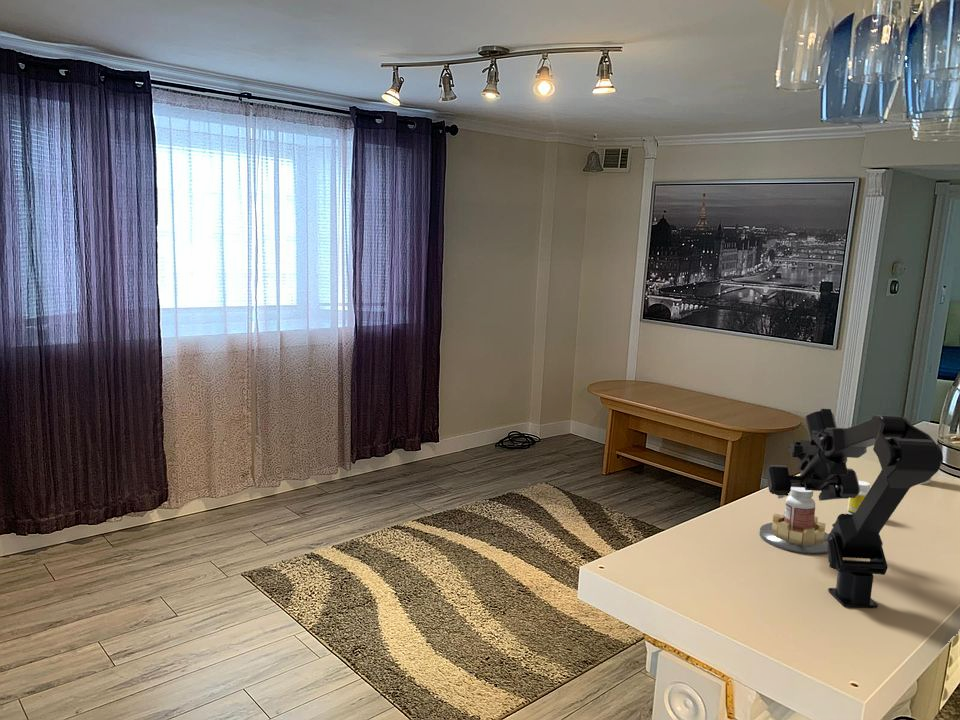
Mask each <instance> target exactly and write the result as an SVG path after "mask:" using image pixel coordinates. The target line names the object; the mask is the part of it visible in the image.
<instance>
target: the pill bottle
mask: <svg viewBox="0 0 960 720" xmlns="http://www.w3.org/2000/svg"><path fill="white" fill-rule="evenodd" d="M789 494H790V495H788V496H786V497H787V498H786V499H785V508H784V509H785V510H784V512H785V518H784V522H786V523H789V524H791V529H794V530H799V531H803V527H813V528H814V516H816V515H815V514H816V512H815V511H816V502H815V500H814V499H813V496H814V491H813V490H805V488H803V487H791V491H790V492H789Z"/></svg>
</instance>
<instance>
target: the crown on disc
mask: <svg viewBox="0 0 960 720" xmlns="http://www.w3.org/2000/svg"><path fill="white" fill-rule="evenodd" d="M784 518H785V511H784V514H779V513H773V515H772V522H769V523H765V524H762V525H761V526H760V528H759V536H760V538H761V539H762V540H763V541H764V542H765V543H767V544H769V545H771V546H773V547H775V548H778V549H781V550H784V551H787V552H791V553H795V554H801V555H802V554H803V555H812V556H815V555H828V542H827V540H828V535H829V533H827V532H826V522H825V523H824V522H819V521H818V519H819V518H818V516H816V515H815V516H814V528H813V527H803V531H799V530H794V529H791V524H789V523H786V522H784Z"/></svg>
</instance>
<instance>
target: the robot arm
mask: <svg viewBox="0 0 960 720" xmlns="http://www.w3.org/2000/svg"><path fill="white" fill-rule="evenodd" d="M804 420H805V425H806V428H807V433H808V437H809V440H804V439H803V440H794V441H791V443H790V444H789V447H788V452H789V455H790V457H791V458H796V459H797V460H799V463H798V464H797V469H798V471H800V474H799V475H792V474H791V475H790V473H789V469H788V466H787V465H783V464H769V465H768V466H767V467H766V468H765V477H766V481H767V486H768V487H767V488H768V491H769V493H770V494H772V495H776V496H777V499H783V498H786V497H788V496H789V494H790V491H791V487H803V488H805V490H813V492H814V491H815V492H817V491H819V494H818V500H819V501H830V500H831V501H832V500H833V501H834V500H842V499H843V500H845V499H849V498H855V497H856V496H857V495H858V494H859V493H860V486H859V483H858V481H859V479H858V475H857V472H856V471H855V470H854V469H853V468H848V467H847V462H848V458H851V459H853V458H854V459H859V458H861V457H862V456H863V455H865V454H866V453H867V451H868V450H867V448H869V447H872V446H873V448H872V449H873V450H872V451H874V453H875V455H876V456H877V458H878V462H879V464H880V469H881V471H880V472H879V475H878V476H877V477H876V478H875V481H874V482H873V484H872V485H871V486H870V490H868V491H869V492H868V493H867V495H866V496H865V498H864V500H863V501H862V503H861V504H860V506H859V507H858V509H857V511H856V512H855V514H848V513H840V514H839V515H838V516H837V517H836V520H835V521H834V523H832V528H831V530H830V532H829V533H828V534H829V535H828V540H827V542H828V554H827V558H828V559H827V560H828V563H829V564H828V565H829V566H828V567H829V568H830V569H832V570H836V571H837V577H836V585H835V586H836V587H828V589H827V591H828V593H830V594H831V595H832V596H833V597H834V598H835V599H836V600H837V601H838V602H839V603H840V604H841V605H842V606H844V607H851V608H878V606H879V604H878V603H877V602H876V601H875V600H874V599H873V598H872V591H873V583H874V575H882V576H885V575H886V573H887V569H889V568H888V563H887V559H886V555H885V552H884V549H883V543H884V542H883V540H882V538H881V535H880V532H881V531H882V530H883V528H884V526H885V525H886V523H887V522H888V520H889V519H891V516H892V515H893V513H894V512H895V510H896V509H897V507H898V506H899V505H900V504H901V502H902V501H903V499H904V497H905V496H906V495H907V493H908V492H909V491H910V489H911V488H912V487H915V486H917V485H921V484H920V483H923V482H925V481H928V480H929V479H930V478H931V479H932V477H934V475H936V474H937V473H938V472H939V470H940V469H941V466H942V464H943V461H944V455H943V451H942V449H941V448H940V447H939V445H938V443H937V442H935V441H934V439H933V438H932V437H931V436H930V435H929V433H927V432H925V431H923V430H922V429H919V428H917V427H916V426H915V425H912V424H911V422H909V420H908V418H906V417H903V416H901V415H894V414H877V415H873V416H872V417H871V418H870V419H868V420H865V421H862V422H860V423H856V424H854V425H851V426H850V427H838V426H837V422H836V418H835V414H834V413H832V409H831V408H821V409H820V410H819V411H814V412H812V413H809V414H806V416H805V417H804ZM936 443H937V444H936ZM845 558H847V559H845ZM848 558H849V559H848ZM852 559H853V560H852ZM854 559H866V560H854Z"/></svg>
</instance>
